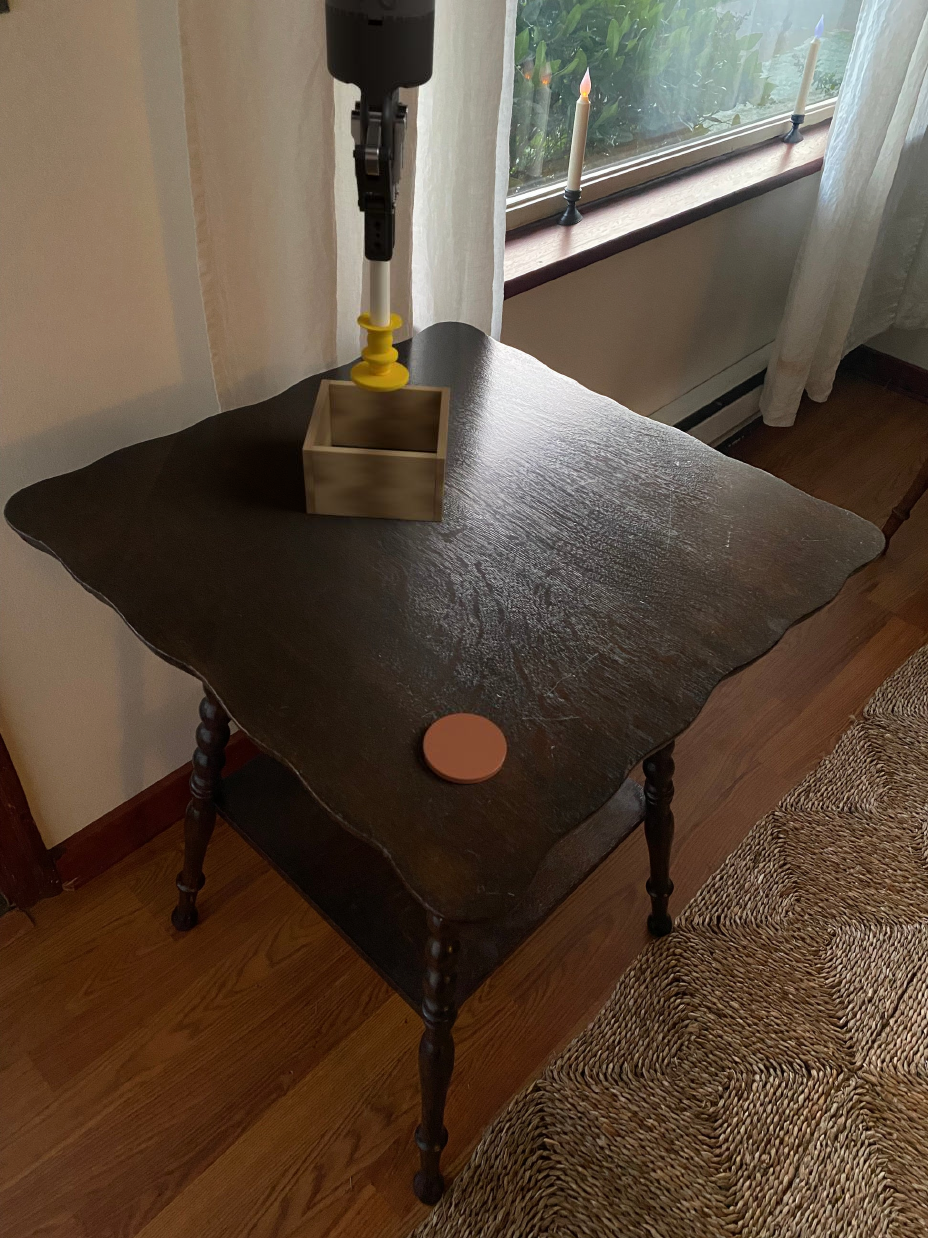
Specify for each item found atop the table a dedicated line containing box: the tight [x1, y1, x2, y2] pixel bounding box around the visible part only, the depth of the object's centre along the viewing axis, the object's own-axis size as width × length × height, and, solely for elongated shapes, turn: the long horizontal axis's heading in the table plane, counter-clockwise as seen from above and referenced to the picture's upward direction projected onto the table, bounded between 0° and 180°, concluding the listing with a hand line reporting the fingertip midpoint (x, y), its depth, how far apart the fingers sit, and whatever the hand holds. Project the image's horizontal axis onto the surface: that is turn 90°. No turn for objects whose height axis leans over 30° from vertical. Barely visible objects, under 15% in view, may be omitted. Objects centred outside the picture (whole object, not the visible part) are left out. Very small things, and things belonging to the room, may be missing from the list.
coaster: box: [422, 712, 508, 785], centre depth 64 cm, size 6×6×1 cm
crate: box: [301, 379, 451, 523], centre depth 86 cm, size 13×13×7 cm
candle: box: [350, 260, 410, 392], centre depth 75 cm, size 5×5×16 cm
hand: (380, 253), depth 73 cm, fingers closed on candle
